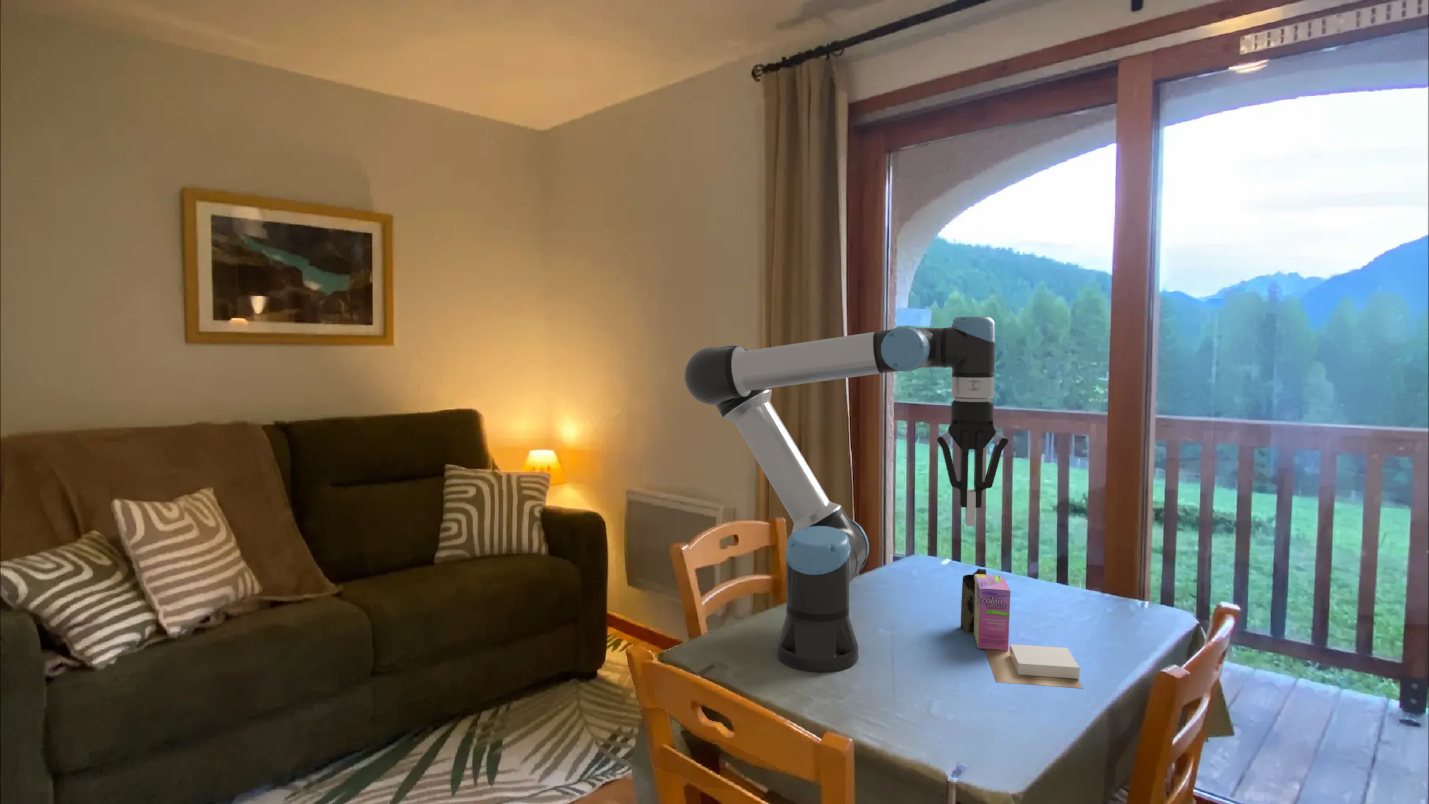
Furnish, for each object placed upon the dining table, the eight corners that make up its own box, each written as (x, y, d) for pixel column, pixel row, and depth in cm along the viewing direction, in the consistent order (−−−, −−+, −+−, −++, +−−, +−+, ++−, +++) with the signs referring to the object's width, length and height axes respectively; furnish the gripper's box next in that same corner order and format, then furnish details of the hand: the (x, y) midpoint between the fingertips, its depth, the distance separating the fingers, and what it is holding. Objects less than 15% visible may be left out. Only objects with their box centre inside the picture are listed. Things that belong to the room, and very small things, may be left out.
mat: (996, 684, 137) (996, 681, 137) (983, 649, 153) (983, 646, 153) (1083, 691, 135) (1083, 688, 135) (1061, 654, 150) (1061, 651, 150)
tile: (1018, 663, 140) (1079, 667, 138) (1009, 644, 148) (1067, 647, 147) (1018, 675, 140) (1079, 679, 138) (1009, 655, 149) (1067, 659, 147)
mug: (984, 638, 158) (985, 578, 158) (956, 632, 161) (957, 573, 161) (995, 627, 165) (996, 569, 164) (969, 622, 168) (970, 565, 167)
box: (1009, 651, 150) (1010, 589, 150) (977, 649, 152) (978, 587, 151) (1002, 633, 160) (1003, 575, 160) (972, 631, 162) (973, 573, 161)
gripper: (937, 400, 146) (935, 527, 148) (1012, 401, 144) (1009, 530, 146) (934, 398, 154) (932, 518, 156) (1005, 398, 151) (1003, 521, 153)
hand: (970, 524), depth 151 cm, fingers closed
